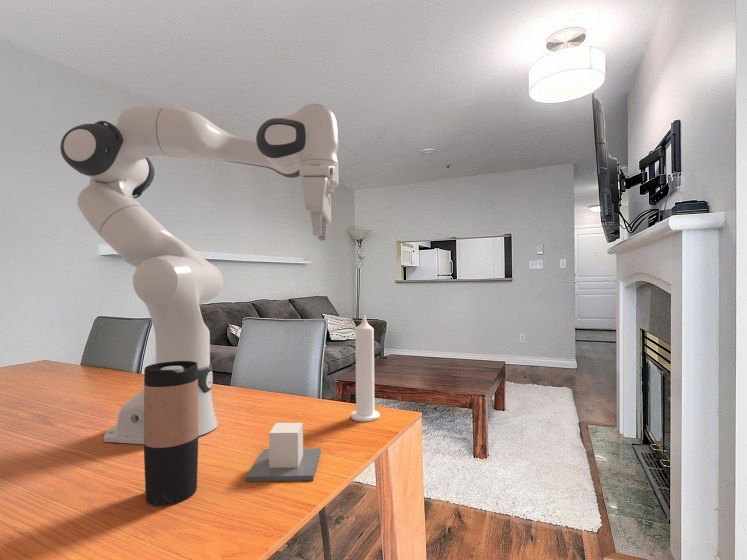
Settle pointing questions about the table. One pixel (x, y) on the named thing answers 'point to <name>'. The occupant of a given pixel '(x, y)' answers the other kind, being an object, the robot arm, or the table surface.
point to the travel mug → (170, 431)
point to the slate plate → (300, 473)
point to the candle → (364, 373)
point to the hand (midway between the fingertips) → (319, 238)
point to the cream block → (286, 445)
